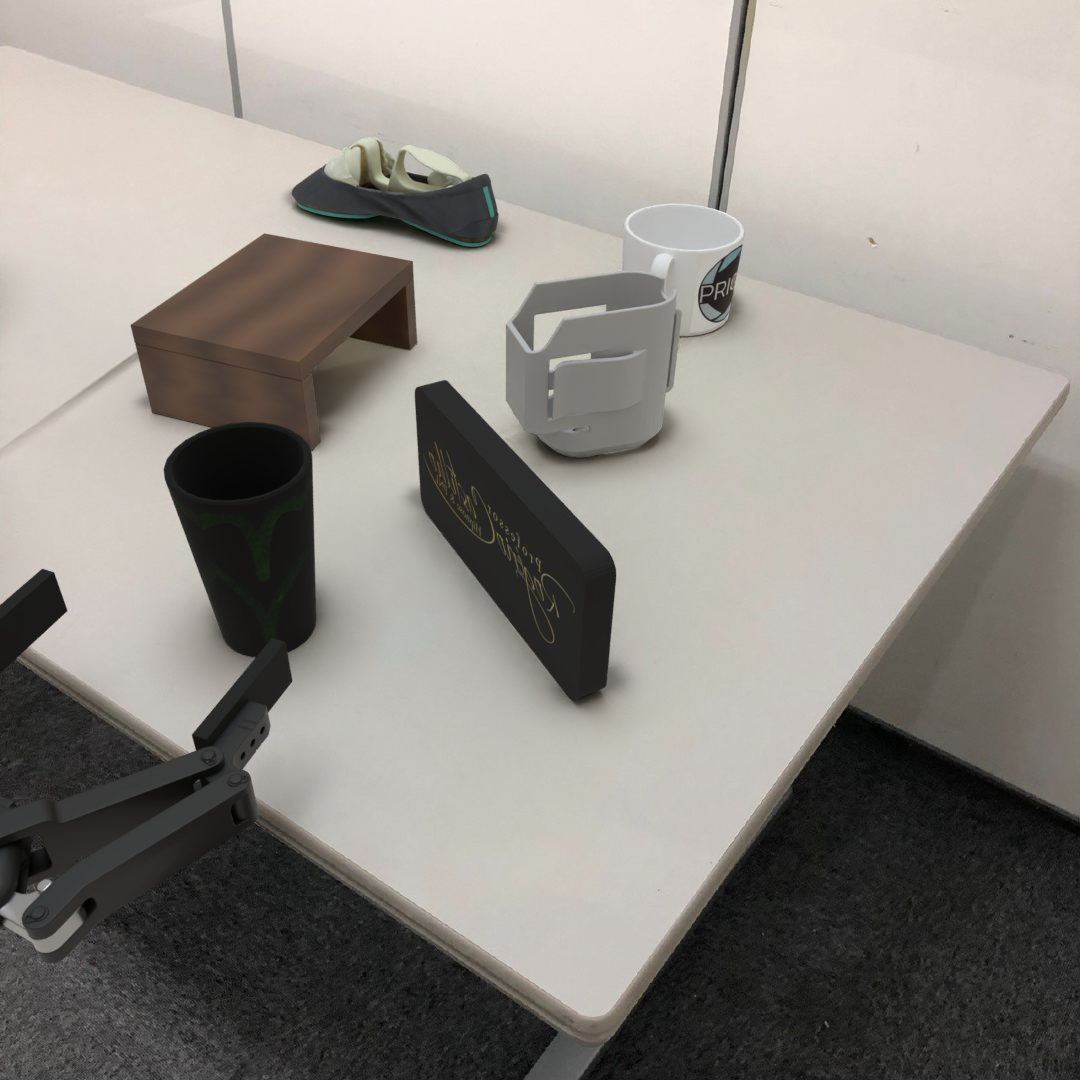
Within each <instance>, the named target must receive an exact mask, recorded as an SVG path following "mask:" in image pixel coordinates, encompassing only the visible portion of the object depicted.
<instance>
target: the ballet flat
mask: <svg viewBox="0 0 1080 1080" xmlns="http://www.w3.org/2000/svg"><path fill="white" fill-rule="evenodd" d="M407 153H408V154H409V155H411V156H412V158H413V159H414V160H415V161H417V162H418V163H419V164H421V165H422V166H424V167H426V168H428V169H430V170H432V171H431V172H430V173H429V175H424V174H418V173H413V172H410V171H406V168H405V157H406V155H407ZM291 196H292V198H293V199H294V200H295V202H296V204H297V207H299V208H300V209H302V210H305V211H308V212H310V213H314V214H317V215H321V216H328V217H334V218H344V219H345V218H346V219H370V218H373V217H374V218H375V217H377V216H382V217H388V218H393V219H397V220H400V221H401V222H404V223H406V224H408V225H410V226H413V227H415V228H417V229H420V230H422V231H424V232H426V233H429V234H431V235H434V236H435V237H438V238H440V239H443V240H445V241H448V242H451V243H454V244H457V245H460V246H463V247H468V248H477V247H482V246H484V245H487V244H488V243H489V242H490V241H491V239H492V236H493V233H495V232H496V230H497V228H498V224H499V218H500V215H499V214H500V213H499V212H498V205H497V201H496V196H495V193H494V190H493V185H492V180H491V177H490V175H489V174H487V173H481V174H479V175H477V176H474V177H473V176H471V175H470V174H468V173H467V172H465V171H464V170H462V169H461V167H459V165H458V164H457V163H455V162H454V161H452V160H451V159H449V158H448V157H446V156H444V155H442V154H440V153H438V152H435V151H432V150H430V149H426V148H422V147H418V146H415V145H412V144H406V145H404V146H402V147H401V148H399V150H398V151H397V154H396V157H393V154H391V153H389V152H388V151H387V150H386V149H385V148H384V144H383V143H382V141H381V139H379V138H378V137H372V136H368V137H365V138H364V137H362V138H360V139H358V140H357V141H356V142H354V143H353V144H351V145H349V146H344V147H343V148H342V150H341V151H340V154H337V155H335V156H333V157H332V158H331V159H330V160H329V161H328V162H327V163H325V164H324V165H322V166H321V167H320V168H318V169H316V170H315V171H314V172H313V173H311V174H309V175H308V176H307V177H305V178H304V179H302V180H301V181H300V182H298V183H297V184H296V185H295V186H294V187H293V188H292V190H291Z"/></svg>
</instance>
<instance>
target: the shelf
mask: <svg viewBox="0 0 1080 1080" xmlns="http://www.w3.org/2000/svg"><path fill="white" fill-rule="evenodd" d="M414 276H415V275H414V261H413V260H409V259H403V258H398V257H393V256H387V255H382V254H379V253H371V252H367V251H361V250H356V249H351V248H346V247H340V246H339V247H338V246H334V245H329V244H323V243H318V242H313V241H307V240H302V239H296V238H291V237H286V236H282V235H281V236H280V235H275V234H271V233H264V232H263V234H261V235H260V236H258V237H257V238H255V239H254V240H252V241H251V242H249V243H248V244H247V245H245V246H243V247H242V248H240V249H239V250H238V251H236V252H235V253H233V254H232V255H230V256H228V257H227V258H226V259H224V260H223V261H222V262H220V263H219V264H217V265H216V266H214V267H213V268H211V269H210V270H208V271H207V272H206V273H204V274H202V275H201V276H199V277H198V278H197V279H195V280H194V281H192V282H191V283H189V284H188V285H186V286H185V287H183V288H182V289H180V290H179V291H178V292H176V293H175V294H173V295H172V296H170V297H169V298H167V299H165V301H163V302H162V303H160V304H159V305H157V306H156V307H154V308H153V309H151V310H150V311H149V312H147V313H145V314H144V315H143V316H141V317H140V318H138V319H137V320H136V321H134V322H132V323H130V329H131V333H132V337H133V341H134V342H133V343H134V345H135V349H136V353H137V357H138V362H139V365H140V370H141V374H142V377H143V382H144V386H145V391H146V394H147V398H148V402H149V406H150V407H149V408H150V410H151V413H153V414H157V415H160V416H161V415H162V416H164V417H170V418H173V419H176V420H181V421H185V422H189V423H192V424H193V423H194V424H198V425H201V426H205V427H209V428H213V427H217V426H221V425H226V424H230V423H241V422H263V423H269V424H274V425H279V426H282V427H284V428H287V429H290V430H292V431H294V432H295V433H297V434H298V435H300V436H301V437H303V438H304V440H305V441H306V442H307V443H308V444H309V446H310V449H311V452H312V451H313V450H314V449H315V448H316V447H317V446H318V445H319V444H320V443H321V441H322V440H321V439H322V438H321V431H320V424H319V417H318V409H317V400H316V393H315V386H314V385H315V384H314V378H313V371H314V370H315V369H316V368H317V367H318V366H319V365H320V364H321V363H322V362H324V361H325V360H326V359H327V358H328V357H329V356H330V355H331V354H333V352H335V350H337V349H338V348H339V347H340V346H341V345H342V344H343V343H344V342H345V341H347V339H354V340H358V341H363V342H368V343H373V344H377V345H383V346H387V347H391V348H396V349H400V350H406V351H411V350H412V349H413V348H414V347H415V346H416V345H417V344H418V331H417V330H418V329H417V314H416V313H417V311H416V297H415V294H416V293H415V277H414Z"/></svg>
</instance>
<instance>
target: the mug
mask: <svg viewBox="0 0 1080 1080" xmlns="http://www.w3.org/2000/svg"><path fill="white" fill-rule="evenodd" d="M742 224H743V223H741V222H740V221H739V220H738V219H737V218H736V217H734V216H732V215H730V214H729V213H727V212H724V211H722V210H719V209H715V208H713V207H707V206H703V205H698V204H689V203H662V204H653V205H650V206H645V207H641V208H640V209H637V210H635V211H633V212H632V213H631V214H629V215H628V216H627V217H626V218H625V220H624V223H623V226H622V228H623V229H622V259H621V262H622V263H621V267H622V268H621V271H627V270H633V271H644V272H650V273H654V274H657V275H660V276H662V277H664V278H665V283H664V292H665V294H666V296H667V297H668V298H670V297H671V295H672V290H673V289H676V290H677V297H676V305H677V306H678V307H679V308H680V309H681V311H682V318H681V326H680V335H679V337H693V336H701V335H705V334H708V333H711V332H714V331H716V330H717V329H720V328H721V327H722V326H724V325H725V323H726V322H727V321H728V320H729V316H730V311H731V306H732V301H733V296H734V290H735V285H736V281H737V275H738V270H739V266H740V261H741V256H742V250H743V245H744V240H745V236H746V231H745V229H744V226H743V225H742Z"/></svg>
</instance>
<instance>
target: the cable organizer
mask: <svg viewBox="0 0 1080 1080" xmlns="http://www.w3.org/2000/svg"><path fill="white" fill-rule="evenodd" d="M664 283H665V278H664V277H662V276H660V275H657V274H654V273H650V272H644V271H633V270H627V271H622V270H618V271H617V270H616V271H610V272H603V273H596V274H595V273H594V274H588V275H580V276H574V277H573V276H572V277H566V278H559V279H551V280H545V281H536V282H535V283H534V284H533V285H532V287H531V289H530V290H529V292H528V294H527V296H525V298H524V300H523V302H522V303H521V304H520V307H519V308H518V310H517V311H516V312H515V313H514V314H513V315H512V316H511V317H510V318H509V319H508V321H507V322H506V323H505V401H506V403H507V405H508V406H509V408H510V410H511V412H512V413H513V415H514V416H515V418H516V419H517V421H518V423H519V425H520V426H521V428H522V429H523V431H524V432H526V433H529V434H533V435H534V434H535V435H537V437H538V438H539V440H541V441H542V442H543V443H544V444H546V445H547V446H548V447H549V448H551V449H552V450H553V451H555V452H556V453H558V454H560V455H562V456H565V457H569V458H576V459H577V458H579V459H581V458H582V459H583V458H589V457H595V456H598V455H603V454H608V453H612V452H618V451H622V450H623V451H624V450H629V449H633V448H638V447H640V446H642V445H644V444H645V443H647V442H648V441H649V440H651V439H652V438H653V437H655V436H656V435H657V434H658V433H660V431H661V430H662V427H663V422H664V412H665V403H666V395H667V393H670V391H672V389H673V388H674V384H675V378H676V377H675V376H676V367H677V359H678V352H679V351H678V350H679V342H680V336H679V335H680V326H681V318H682V311H681V309H680V308H679V307H678V306H677V305H676V297H677V290H676V289H673V290H672V295H671V297H670V298H668V297H667V296H666V294H665V292H664ZM600 306H605V311H602V312H600V311H599V312H594V313H588V314H581V315H573V316H568V317H567V316H566V317H563V318H562V319H561V321H560V322H559V323H558V326H556V328H555V330H554V332H553V333H552V334H551V335H550V337H549V339H548V340H547V342H546V343H545V345H544V346H542V347H541V348H539V349H537V350H535V317H536V315H545V314H552V313H557V312H564V311H571V310H578V309H587V308H592V307H593V308H594V307H600ZM587 354H590V358H587V359H572V360H570V359H569V360H564V361H561V362H559V363H558V364H557V365H555V366H554V369H550V365H551V364H550V361H551V360H556V359H563V358H569V357H575V356H580V355H587ZM550 391H553V393H552V394H551V395H549V392H550ZM585 427H586V428H587V427H588V430H575V429H581V428H585Z"/></svg>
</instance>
